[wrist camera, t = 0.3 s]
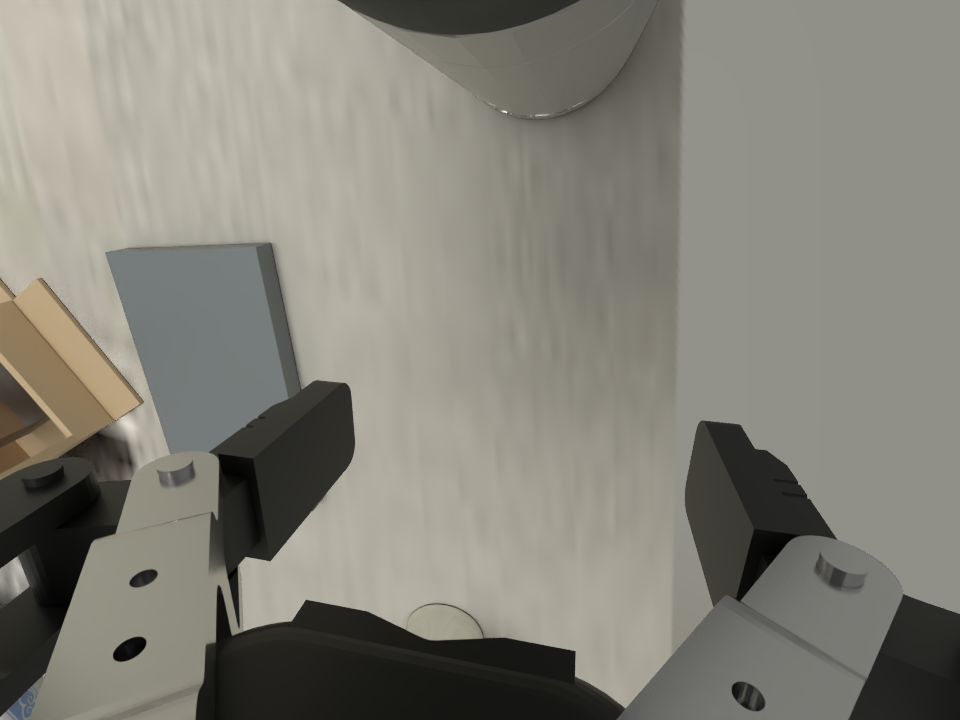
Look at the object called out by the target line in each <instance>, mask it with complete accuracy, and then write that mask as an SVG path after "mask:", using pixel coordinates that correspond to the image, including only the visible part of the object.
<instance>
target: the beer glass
mask: <svg viewBox="0 0 960 720" xmlns="http://www.w3.org/2000/svg"><path fill="white" fill-rule="evenodd" d="M406 630H407V631H409V632H411V633H413V634H415V635H417V636H420V637H422V638H424V639H428V640H458V639H483V634H482V631H481V629H480V627H479V626H478V624H477V623H476V622H475V621H474V620H473V619H472V618H471V617H470V616H469V615H468V614H466V613H465V612H463V611H461V610H459V609H457V608H454V607H451V606H448V605H441V604H433V605H427V606H423V607H421V608H419V609H417V610H416V611H415V612H413V613H412V615H411V616H410V618H409V619H408V622H407V626H406Z"/></svg>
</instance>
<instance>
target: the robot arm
mask: <svg viewBox="0 0 960 720" xmlns="http://www.w3.org/2000/svg"><path fill="white" fill-rule="evenodd" d="M338 1H340V2H342V3H343V4H345V5H346V6H348V7H349V8H351V9H352V10H353V11H355V12H356V13H358V14H359V15H361V16H362V17H363V18H365V19H366V20H368V21H369V22H371V23H372V24H373V25H375V26H376V27H378V28H379V29H381V30H382V31H383V32H385V33H386V34H388V35H389V36H391V37H392V38H394V39H395V40H396V41H398V42H399V43H401V44H402V45H404V46H405V47H407V48H408V49H410V50H411V51H413V52H414V53H415V54H417V55H418V56H420V57H421V58H423V59H424V60H425V61H427V62H428V63H430V64H431V65H432V66H434V67H435V68H437V69H438V70H439V71H441V72H442V73H444V74H445V75H446V76H448V77H449V78H451V79H452V80H454V81H455V82H456V83H458V84H459V85H461V86H462V87H463V88H465V89H466V90H468V91H469V92H470V93H472V94H473V95H475V96H476V97H477V98H479V99H480V100H482V101H483V102H485V103H486V104H488V105H490V106H491V107H492V108H493V109H495V110H498V111H500V112H502V113H505V114H508V115H512V116H515V117H519V118H522V119H546V118H551V117H556V116H561V115H564V114H566V113H569V112H571V111H573V110H576V109H578V108H580V107H582V106H584V105H585V104H586V103H588V102H589V101H591V100H592V99H593V98H595V97H596V96H598V95H599V94H600V93H601V92H602V91H603V90H604V89H605V88H606V87H607V86H608V85H609V84H610V83H611V82H612V81H613V80H614V79H615V77H616V76H617V75H618V73H619V72H620V70H621V69H622V67H623V66H624V64H625V62H626V61H627V59H628V58H629V56H630V54H631V53H632V51H633V49H634V47H635V45H636V43H637V41H638V39H639V37H640V36H641V34H642V32H643V30H644V28H645V26H646V24H647V22H648V20H649V18H650V16H651V14H652V12H653V10H654V8H655V6H656V4H657V2H658V0H338ZM354 448H355V436H354V423H353V411H352V399H351V391H350V388H349V386H348V385H347V384H346V383H338V382H328V381H319V380H316V381H313V382H312V383H311V384H309V385H308V386H307V387H305V388H304V389H303V390H301V391H300V392H299V393H297V394H296V395H295V396H293V397H292V398H290V399H287V400H285V401H282V402H280V403H277V404H275V405H273V406H271V407H270V408H268V409H267V410H266V411H264V412H263V413H262V414H260V415H259V416H258V419H257V418H255V419H253V420H252V421H251V422H249V423H248V424H247V425H246V427H242V428H241V429H240V430H238V431H237V432H236V433H234V434H233V435H232V436H230V437H229V438H227V439H226V440H225V441H223V442H222V443H221V444H219V445H218V446H217V447H215V448H214V449H212V450H211V451H210V452H203V451H187V452H180V453H176V454H171V455H168V456H165V457H162V458H159V459H157V460H155V461H152V462H150V463H149V464H147V465H145V466H144V467H142V468H141V469H140V470H139V471H137V472H136V473H135V475H134V476H133V478H132V480H123V481H108V482H98V480H97V477H96V473H95V470H94V467H93V464H92V462H91V461H89V460H88V459H85V458H80V457H66V458H58V459H52V460H48V461H44V462H40V463H37V464H34V465H31V466H28V467H25V468H23V469H21V470H18V471H16V472H14V473H12V474H10V475H8V476H7V477H5V478H3V479H1V480H0V568H1V567H3V566H4V565H6V564H7V563H8V562H10V561H11V560H13V559H14V558H15V557H17V556H18V557H19V560H20V563H21V565H22V568H23V570H24V573H25V575H26V578H27V580H28V583H29V585H30V587H29V588H27V589H26V590H25V591H24V592H22V593H21V594H20V595H19V596H17V597H16V598H15V599H13V600H12V601H11V602H10V603H8V604H7V605H6V606H5V607H3V608H2V609H1V610H0V717H1V716H2V715H3V714H4V713H5V712H6V711H7V710H8V709H9V708H10V707H11V706H12V705H13V704H14V703H15V702H16V701H17V700H18V699H19V698H20V697H21V696H22V695H23V694H24V693H25V692H26V691H27V690H29V689H30V688H31V687H32V686H33V685H34V684H35V683H36V682H37V681H38V680H39V679H40V678H41V677H42V676H43V675H44V674H45V673H46V674H45V677H44V679H43V682H42V685H41V688H40V691H39V694H38V696H37V699H36V702H35V705H34V708H33V711H32V713H31V716H30V719H29V720H960V614H958V613H955V612H952V611H949V610H946V609H943V608H940V607H937V606H934V605H931V604H928V603H925V602H922V601H920V600H917V599H914V598H911V597H909V596H906V595H904V594H903V590H902V586H901V584H900V582H899V580H898V579H897V577H896V576H895V575H894V574H893V573H892V571H891V570H889V568H887V567H886V566H885V565H884V564H883V563H882V562H880V561H879V560H878V559H876V558H875V557H873V556H872V555H870V554H868V553H866V552H865V551H863V550H861V549H859V548H857V547H855V546H852V545H850V544H848V543H845V542H842V541H839V540H837V539H836V537H835V536H834V534H833V533H832V531H831V530H830V528H829V527H828V525H827V524H826V522H825V521H824V519H823V518H822V516H821V515H820V513H819V512H818V511H817V509H816V508H815V506H814V505H813V503H812V502H811V500H810V499H807V494H806V493H805V491H804V490H803V488H802V487H801V485H798V481H797V480H796V478H795V477H794V475H793V474H792V472H791V471H790V469H789V468H788V466H787V465H786V464H784V463H783V462H781V461H780V460H779V459H777V458H776V457H775V456H773V455H772V454H771V453H769V452H768V451H766V450H757V449H755V448H754V447H753V445H752V443H751V442H750V440H749V438H748V437H747V435H746V433H745V432H744V430H743V428H742V427H741V425H739V424H730V423H720V422H711V421H700V423H699V424H698V427H697V430H696V435H695V441H694V445H693V450H692V456H691V461H690V466H689V472H688V476H687V481H686V488H685V507H686V513H687V517H688V520H689V523H690V527H691V531H692V534H693V537H694V541H695V544H696V548H697V551H698V555H699V558H700V562H701V565H702V569H703V572H704V576H705V579H706V583H707V586H708V590H709V593H710V597H711V600H712V604H713V606H714V608H713V609H712V610H711V611H710V612H709V614H708V615H707V616H706V617H705V618H704V619H703V621H702V622H701V623H700V624H699V625H698V626H697V627H696V629H695V630H694V631H693V632H692V633H691V634H690V635H689V637H688V638H687V639H686V640H685V641H684V642H683V643H682V645H681V646H680V647H679V648H678V649H677V650H676V652H675V653H674V654H673V655H672V656H671V657H670V658H669V660H668V661H667V662H666V663H665V664H664V665H663V666H662V668H661V669H660V670H659V671H658V672H657V673H656V675H655V676H654V677H653V678H652V679H651V680H650V681H649V683H648V684H647V685H646V686H645V687H644V688H643V689H642V691H641V692H640V693H639V694H638V695H637V696H636V698H635V699H634V700H633V701H632V702H631V703H630V704H629V706H628V707H627V708H626V709H625V708H624V707H623V706H622V705H620V704H619V703H618V702H616V701H615V700H614V699H612V698H611V697H610V696H608V695H607V694H606V693H604V692H602V691H601V690H599V689H597V688H596V687H594V686H592V685H591V684H589V683H587V682H585V681H583V680H581V679H579V678H577V677H575V651H571V650H566V649H561V648H556V647H550V646H545V645H540V644H535V643H529V642H524V641H519V640H514V639H508V638H483V639H458V640H428V639H424V638H422V637H420V636H417V635H415V634H413V633H411V632H409V631H407V630H405V629H403V628H401V627H399V626H396V625H394V624H392V623H390V622H388V621H386V620H384V619H382V618H380V617H378V616H376V615H373V614H371V613H369V612H367V611H362V610H356V609H351V608H346V607H341V606H336V605H330V604H325V603H320V602H315V601H309V600H306V601H305V602H304V604H303V605H302V607H301V608H300V610H299V611H298V613H297V614H296V616H295V617H294V619H293V620H292V622H282V623H275V624H268V625H264V626H260V627H256V628H252V629H249V630H247V631H244V625H243V602H242V578H241V572H240V567H239V564H240V563H241V561H242V560H243V559H244V558H245V557H250V558H256V559H261V560H267V561H271V560H272V559H273V557H274V556H275V555H276V554H277V553H278V551H279V550H280V549H281V548H282V546H283V545H284V544H285V543H286V542H287V540H288V539H289V538H290V537H291V535H292V534H293V533H294V532H295V531H296V529H297V528H298V527H299V526H300V525H301V523H302V522H303V521H304V520H305V518H306V517H307V516H308V515H309V514H310V512H311V511H312V510H313V509H314V507H315V506H316V505H317V504H318V503H319V501H320V500H321V499H322V498H323V497H324V495H325V494H326V493H327V492H328V490H329V489H330V488H331V487H332V486H333V484H334V483H335V482H336V481H337V480H338V478H339V477H340V476H341V475H342V473H343V472H344V471H345V470H346V469H347V467H348V466H349V464H350V462H351V460H352V457H353V454H354Z"/></svg>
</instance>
